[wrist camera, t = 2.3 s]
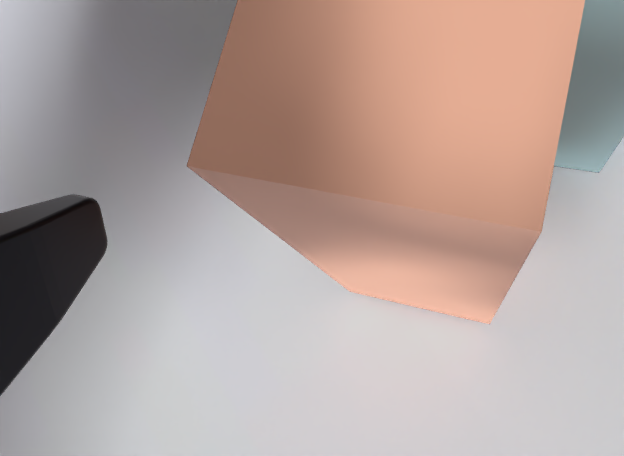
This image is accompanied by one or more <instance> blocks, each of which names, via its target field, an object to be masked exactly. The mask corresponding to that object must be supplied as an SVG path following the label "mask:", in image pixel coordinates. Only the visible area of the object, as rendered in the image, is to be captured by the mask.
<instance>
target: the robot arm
mask: <svg viewBox="0 0 624 456" xmlns="http://www.w3.org/2000/svg"><path fill="white" fill-rule="evenodd" d="M106 248H107V236H106V232H105V227H104V223H103V218H102V214H101V209H100V206H99V204H98V203H97V201H96V200H94V199H93V198H89V197H85V196H80V195H67V196H63V197H60V198H56V199H52V200H49V201H45V202H41V203H37V204H34V205H30V206H26V207H22V208H19V209H15V210H11V211H8V212H4V213H0V396H1V395H2V393H3V392H4V391H5V390H6V389H7V387H8V386H9V385H10V384H11V382H12V381H13V380H14V379H15V377H16V376H17V375H18V374H19V372H20V371H21V370H22V369H23V368H24V366H25V365H26V364H27V363H28V361H29V360H30V359H31V358H32V356H33V355H34V354H35V353H36V351H37V350H38V349H39V348H40V346H41V345H42V344H43V343H44V342H45V340H46V339H47V338H48V337H49V335H50V334H51V333H52V331H53V330H54V329H55V327H56V326H57V325H58V323H59V322H60V321H61V319H62V318H63V316H64V315H65V313H66V312H67V310H68V309H69V307H70V306H71V304H72V303H73V301H74V300H75V298H76V297H77V295H78V294H79V292H80V291H81V289H82V288H83V286H84V284H85V283H86V281H87V280H88V278H89V277H90V275H91V274H92V272H93V271H94V269H95V268H96V266H97V265H98V263H99V262H100V260H101V259H102V257H103V255H104V254H105V251H106Z"/></svg>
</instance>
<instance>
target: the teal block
mask: <svg viewBox="0 0 624 456" xmlns="http://www.w3.org/2000/svg"><path fill="white" fill-rule="evenodd" d="M623 137H624V0H585V4H584V9H583V14H582V20H581V25H580V30H579V35H578V41H577V46H576V51H575V57H574V62H573V67H572V72H571V78H570V83H569V88H568V94H567V99H566V104H565V109H564V115H563V120H562V125H561V131H560V136H559V141H558V146H557V152H556V157H555V162H554V166H559V167H565V168H572V169H578V170H585V171H591V172H598V173H599V172H600V170H601V169H602V168H603V166H604V165H605V163H606V162H607V160H608V159H609V157H610V156H611V154H612V153H613V151H614V150H615V148H616V147H617V145H618V144H619V143H620V141H621V140H622V138H623Z"/></svg>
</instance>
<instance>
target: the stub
mask: <svg viewBox="0 0 624 456" xmlns="http://www.w3.org/2000/svg"><path fill="white" fill-rule="evenodd" d="M584 4H585V0H238V1H237V4H236V7H235V11H234V14H233V17H232V20H231V24H230V27H229V30H228V33H227V37H226V40H225V43H224V46H223V50H222V53H221V56H220V59H219V63H218V66H217V69H216V72H215V75H214V79H213V82H212V85H211V88H210V92H209V95H208V98H207V101H206V105H205V108H204V111H203V114H202V118H201V121H200V124H199V127H198V131H197V134H196V137H195V140H194V144H193V147H192V150H191V153H190V157H189V160H188V163H187V167H188V168H190V169H191V170H192V171H194V172H195V173H196V174H198V175H199V176H200V177H201V178H203V179H204V180H205V181H207V182H208V183H209V184H211V185H212V186H213V187H214V188H216V189H217V190H218V191H220V192H221V193H222V194H224V195H225V196H226V197H227V198H229V199H230V200H231V201H233V202H234V203H235V204H237V205H238V206H239V207H240V208H242V209H243V210H244V211H246V212H247V213H248V214H250V215H251V216H252V217H253V218H255V219H256V220H257V221H259V222H260V223H261V224H263V225H264V226H265V227H266V228H268V229H269V230H270V231H272V232H273V233H274V234H276V235H277V236H278V237H279V238H281V239H282V240H283V241H285V242H286V243H287V244H289V245H290V246H291V247H292V248H294V249H295V250H296V251H298V252H299V253H300V254H302V255H303V256H304V257H305V258H307V259H308V260H309V261H311V262H312V263H313V264H315V265H316V266H317V267H318V268H320V269H321V270H322V271H324V272H325V273H326V274H328V275H329V276H330V277H331V278H333V279H334V280H335V281H337V282H338V283H339V284H341V285H342V286H343V287H344V288H346V289H347V290H348V291H350V292H354V293H358V294H362V295H367V296H371V297H375V298H380V299H384V300H388V301H392V302H397V303H401V304H405V305H410V306H414V307H418V308H422V309H427V310H431V311H435V312H439V313H444V314H448V315H452V316H457V317H461V318H465V319H469V320H474V321H478V322H482V323H487V324H490V322H491V321H492V319H493V317H494V315H495V314H496V312H497V310H498V308H499V306H500V305H501V303H502V301H503V299H504V297H505V296H506V294H507V292H508V290H509V289H510V287H511V285H512V283H513V281H514V280H515V278H516V276H517V274H518V273H519V271H520V269H521V267H522V265H523V264H524V262H525V260H526V258H527V257H528V255H529V253H530V251H531V249H532V248H533V246H534V244H535V242H536V240H537V239H538V237H539V235H540V233H541V231H542V226H543V220H544V215H545V210H546V205H547V199H548V194H549V189H550V183H551V178H552V173H553V168H554V162H555V157H556V152H557V146H558V141H559V136H560V131H561V125H562V120H563V115H564V109H565V104H566V99H567V94H568V88H569V83H570V78H571V72H572V67H573V62H574V57H575V51H576V46H577V41H578V35H579V30H580V25H581V20H582V14H583V9H584Z"/></svg>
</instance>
